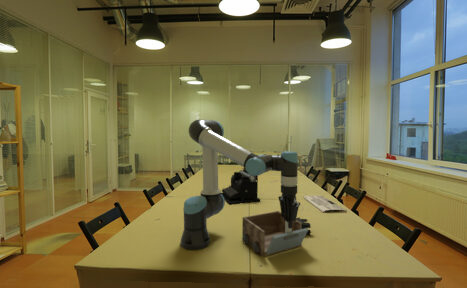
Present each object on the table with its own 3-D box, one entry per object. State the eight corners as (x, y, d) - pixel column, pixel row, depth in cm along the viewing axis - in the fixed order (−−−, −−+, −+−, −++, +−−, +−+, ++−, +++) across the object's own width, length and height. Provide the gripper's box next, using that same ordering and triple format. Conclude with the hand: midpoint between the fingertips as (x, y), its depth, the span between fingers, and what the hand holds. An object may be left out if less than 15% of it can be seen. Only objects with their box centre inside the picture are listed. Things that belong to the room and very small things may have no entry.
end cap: (294, 228, 139) (294, 217, 138) (305, 228, 138) (306, 217, 138) (297, 235, 129) (298, 223, 128) (310, 235, 128) (310, 224, 128)
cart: (240, 239, 123) (240, 217, 123) (279, 230, 135) (279, 210, 134) (260, 257, 106) (260, 232, 105) (303, 245, 117) (303, 222, 117)
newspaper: (346, 212, 166) (346, 209, 166) (320, 213, 164) (321, 209, 164) (322, 198, 203) (322, 195, 202) (301, 198, 201) (301, 195, 201)
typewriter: (219, 194, 212) (219, 168, 210) (247, 192, 220) (247, 166, 219) (229, 205, 182) (229, 174, 181) (260, 201, 190) (260, 172, 189)
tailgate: (266, 252, 107) (272, 236, 102) (299, 243, 116) (306, 227, 110) (268, 255, 105) (275, 239, 100) (301, 246, 114) (309, 231, 109)
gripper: (305, 186, 102) (304, 238, 104) (286, 181, 114) (285, 227, 115) (292, 188, 99) (291, 241, 100) (274, 182, 110) (273, 230, 112)
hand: (288, 234), depth 108 cm, fingers closed
